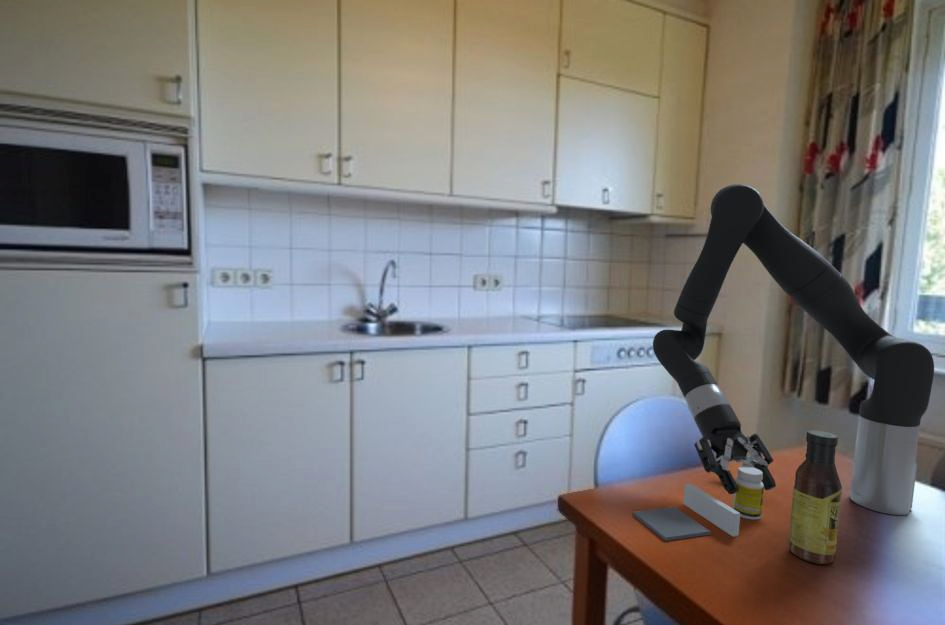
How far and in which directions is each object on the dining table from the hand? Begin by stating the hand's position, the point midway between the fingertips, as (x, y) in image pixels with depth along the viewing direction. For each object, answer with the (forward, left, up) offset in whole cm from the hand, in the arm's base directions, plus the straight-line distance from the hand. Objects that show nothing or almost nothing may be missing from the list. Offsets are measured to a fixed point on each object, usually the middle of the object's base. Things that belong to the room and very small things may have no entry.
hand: (753, 490), depth 92 cm
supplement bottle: (0, -1, -5) cm, 5 cm away
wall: (+8, -1, -5) cm, 10 cm away
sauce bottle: (+1, +13, -5) cm, 14 cm away
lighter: (-12, -13, -5) cm, 18 cm away
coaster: (+17, -1, -5) cm, 18 cm away
